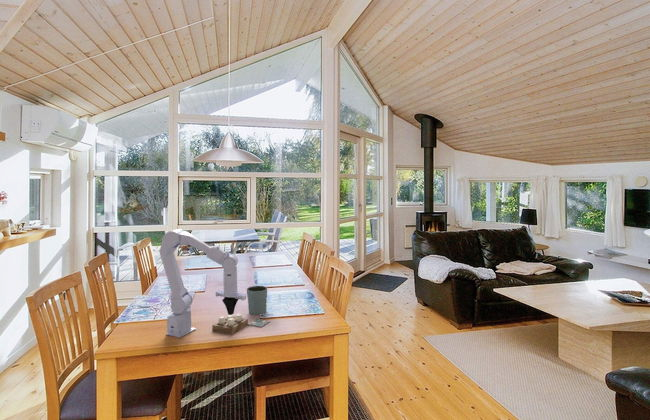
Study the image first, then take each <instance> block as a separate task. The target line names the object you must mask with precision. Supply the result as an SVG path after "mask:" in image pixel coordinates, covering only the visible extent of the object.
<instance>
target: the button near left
mask: <svg viewBox="0 0 650 420" xmlns="http://www.w3.org/2000/svg"><path fill="white" fill-rule="evenodd" d="M225 318H226V316H218V322H219V325H224V324H225Z"/></svg>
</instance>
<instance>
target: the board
mask: <svg viewBox="0 0 650 420" xmlns="http://www.w3.org/2000/svg"><path fill="white" fill-rule="evenodd" d="M233 318H234V326H233V327H228V320H227V317H225V324H224V325H219V321H218V322H216V323H213V324H212V325H211V326H212V330H211V331H212V332H213V331H214V332H218V333H223V334H227V335H233V334H234V333H236V332H238V331H239V330H241V329H243V328H244V327H246V326H249V325H248V324H249V319H248V318H243V317H242V322H240V323H238V322H236V316H234V315H233Z"/></svg>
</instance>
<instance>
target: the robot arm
mask: <svg viewBox="0 0 650 420" xmlns="http://www.w3.org/2000/svg"><path fill="white" fill-rule="evenodd" d="M187 245H189V246H191V247H193V248H195V249H197V250H199V251H201V252H203V253H204V254H206V257H207V258H208V259H209V260H211V261H212V262H215V263H216V264H218V265H220V266H221V267H222V269H223V273H222V274H223V275H222V276H223V290H216V291H215V297H222V302H223V304H224V305H225V309H226V311H227V314H228V315H234V313H235V308H236V305H237V303H238V301H239V300H241V301H245V300H246V299H247V294H244V293H240V292H239V291H238V266H237V265H238V263H239V259H238V257H237V256H236V255H235V254H234V253H230V252H226V251H225V250H223V249H221V247H220V246H219V245H217V246H216V245H212V246H210V245H209V244H207V243H206V242H204V241H202V240H201V239H199V238H197V237H196V236H194V235H193V234H191V232H188V231H186V230H184V229H182V228H175V229H173V230H170V231H168V232H166V233H165V234H164V235H163V236H162V237H161V245H160V248H159V255H160V258H161V261H162V265H163V269H164V272H165V274H166V278H167V281H168V284H169V288H170V291H171V294H170V298H169V299H170V301H171V302H170V309H171V311H172V313H171V315H169V316H168V317H167V319H166V331H167V332H166V333H165V335H167V336H172V337H175V338H182V337H184V336H186V335H187V334H190V333H191V332H193V331H196V329H197V328H196V327H192V308H191V305H192V303H193V297H192V295H191V294H190V292H189V291H188V289H187V288H186V287H185V285H184V281H183V279H182V275H181V272H180V268H179V266H178V262H177V258H176V256H175V255H176V254H175V252H176V250H177V248H178V247H179V246H187ZM228 315H227V316H228Z"/></svg>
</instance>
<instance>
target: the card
mask: <svg viewBox="0 0 650 420" xmlns="http://www.w3.org/2000/svg"><path fill="white" fill-rule="evenodd" d="M270 322H271V321H270V320H268V319H266V320H265V319H260V318H255V319H254V320H252V321H250V322H248V325H247V326H253V327H258V328H262V327H264V326H266V325H268V324H269V323H270Z"/></svg>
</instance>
